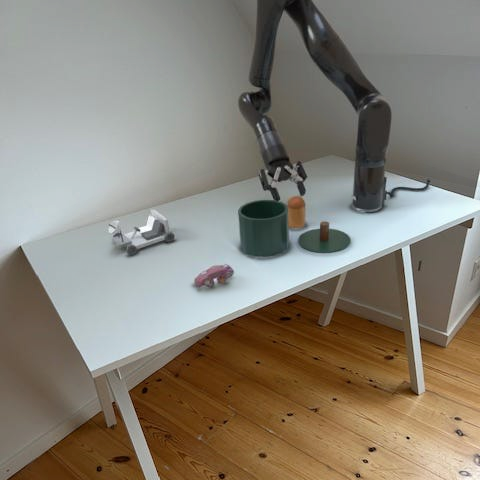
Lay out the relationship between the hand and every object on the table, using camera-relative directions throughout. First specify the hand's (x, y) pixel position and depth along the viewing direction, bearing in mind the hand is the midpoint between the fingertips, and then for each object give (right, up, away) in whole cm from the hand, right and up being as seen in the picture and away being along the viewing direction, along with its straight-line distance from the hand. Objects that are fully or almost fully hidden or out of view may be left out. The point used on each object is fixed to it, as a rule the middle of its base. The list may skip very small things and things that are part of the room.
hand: (291, 197), depth 147 cm
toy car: (-46, -14, +1) cm, 48 cm away
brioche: (+2, -8, +2) cm, 9 cm away
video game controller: (-22, -28, -22) cm, 42 cm away
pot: (-8, -16, -7) cm, 20 cm away
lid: (+9, -14, -8) cm, 19 cm away
